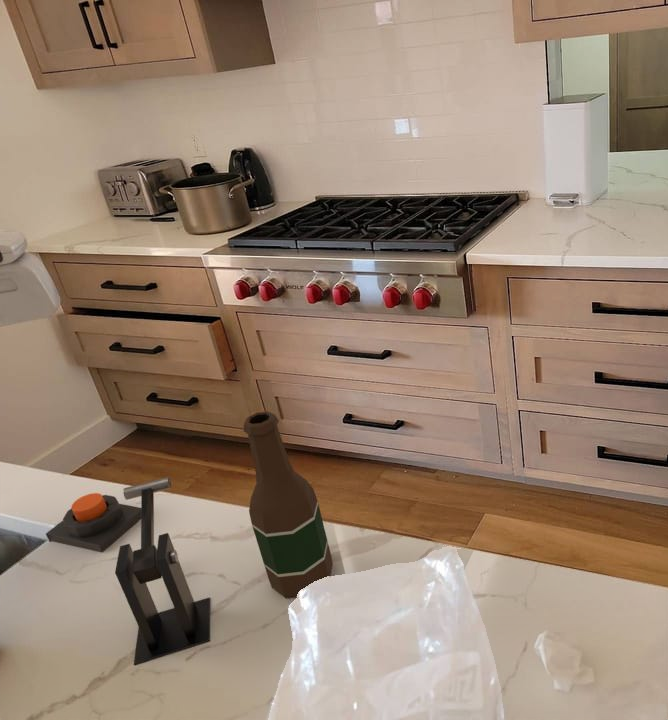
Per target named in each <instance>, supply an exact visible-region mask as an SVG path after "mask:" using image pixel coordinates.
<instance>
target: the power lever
mask: <svg viewBox="0 0 668 720" xmlns="http://www.w3.org/2000/svg"><path fill="white" fill-rule="evenodd" d="M170 489H172V483H171V479H170V477H169V476H166V477H163V478H157V479H154V480H150V481H146V482H143V483H139V484H135V485H131V486H128V487H123V490H122V492H123V497H124V498H125V500H126V501H128V500H132V499H136V498H139V497H141V498H140V499H141V500H140V501H141V503H140V504H141V505H140V508H141V520H140V548H139V549H135V550H132V551H133V573H134V575H135V576H136V578H137V580H138V581H139V583H140V584H143V583H146V584H147V583H149V582H153V581H156V580H160V579H163V578H162V575H161V573H160V570H159V568H158V565H157V563H156V555H157V546H156V545H155V512H154V511H155V506H154V503H155V501H154V500H155V499H154V498H155V497H154V494H155V493H159V492H163V491H166V490H170Z"/></svg>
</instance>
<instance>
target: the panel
mask: <svg viewBox="0 0 668 720" xmlns="http://www.w3.org/2000/svg"><path fill="white" fill-rule="evenodd" d="M101 495H102V496H103V498H104V500H105V503H106V505H107V510H106V511H105V512H104V513H103V514H101V515H100V516H99V517H96V518H94V519H92V520H88V521H83V522H79V521H77V520H76V518H75V515H74V513H73V511H72V509H71V508H69V509H68V510H67V511H66V513H65V514H64V516H63V518H62V521H60V522H59V523H58V524H56V525H55V526H54V527H52V528H51V529H49V530H48V531H47V532H46V533H45V535H46V538H47V540H48V542H49V543H51V542H54V543H57V544H61V545H62V544H63V545H66V546H71V547H76V548H80V549H84V550H89V551H93V552H98V553H104V552H105V551H106V550H107V549H108V548H109V547H111V546H112V545H113V544H114V543H115V542H117V541H118V540H119V539H120V538H121V537H122V536H124V534H126V533H127V532H128V531H129V530H130V529H131V528H133V527H134V526H135V525H136V524H138V522H141V507H138V506H133V505H128V504H123V503H119V501H118V499H117V497H116V496H113V495H108V494H101Z"/></svg>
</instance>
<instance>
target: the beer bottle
mask: <svg viewBox="0 0 668 720" xmlns="http://www.w3.org/2000/svg"><path fill="white" fill-rule="evenodd" d="M279 422H280V420H279V419H278V417H277V416H276V414H275V413H272V412H270V411H268V410H267V411H260V412H256V413H253V414H251V415H249V416H248V417H246V418H245V421H244V423H243V432H244V433H246V434H247V437H248V443H249V446H250V453H251V457H252V460H253V461H252V462H253V465H254V466H253V467H254V472H255V483H256V484H255V485H254V489H253V491H252V494H251V497H250V500H249V507H248V508H249V510H248V512H249V517H250V518H249V519H250V523H251V527H252V530H253V534H254V536H255V539H256V543H257V546H258V549H259V552H260V557H261V558H262V562H263V565H264V568H265V572H266V576H267V578H268V581H269V584H270V587H271V589H273V590H274V591H275V592H277V593H278V594H279V595H280V596H281V597H283V598H284V599H285V600H286V599H292V598H297V597H296V596H297V594H298V592H299V591H300V590H301V589H303V588H305V587H306V586H308V585H309V584H311V583H313V582H314V581H317V580H319V579H322V578H324V577H327V576H330V577H331V575H332V570H333V564H334V563H333V558H332V557H333V556H332V554H331V553H332V552H331V549H330V544H329V540H328V537H327V533H326V530H325V525H324V521H323V517H322V513H321V509H320V505H319V502H318V498H317V495H316V492H315V489H314V488H313V486H312V485H311V483H309V481H308V480H307V479H306V478H304V477H303V476H302V475H300V474H299V473H298V472H295V469H294V468H293V466H292V464H291V462H290V459H289V456H288V454H287V451H286V448H285V445H284V442H283V439H282V436H281V433H280V431H279V427H278V424H279Z"/></svg>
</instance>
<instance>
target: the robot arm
mask: <svg viewBox="0 0 668 720" xmlns="http://www.w3.org/2000/svg"><path fill="white" fill-rule="evenodd" d="M27 248H28V240H27V238H26V236H25V234H24V233H23V232H21V231H17V230H8V229H0V328H1V327H6V326H11V325H17V324H21V323H27V322H33V321H37V320H43V319H48V318H49V319H50V318H52V317H53V316H54V315H55V314H56V313H57V311H58V310H59V308H60V306H61V301H62V300H61V296H60V294H59V292H58V290H57V286H56V284H55V282H54V281H53V278H52V277H51V275H50V273H49V271H48V270H47V268H46V266H45V265H44V263H43V262H42V260H41V259H39V258H38V257H37V256H36V255H34V254H33V253H30V252H27V251H26V250H27Z"/></svg>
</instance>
